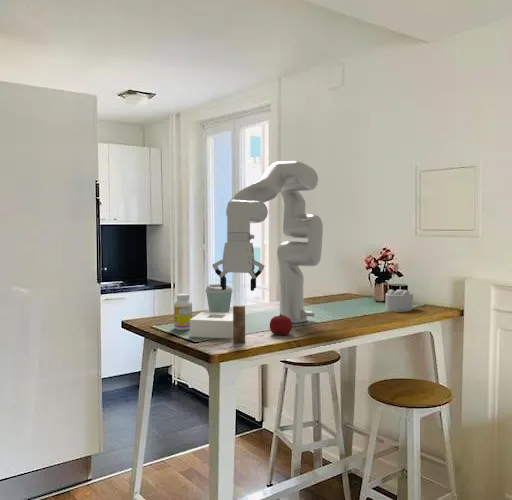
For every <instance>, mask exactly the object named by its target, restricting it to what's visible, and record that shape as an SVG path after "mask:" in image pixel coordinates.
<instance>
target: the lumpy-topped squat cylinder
mask: <svg viewBox="0 0 512 500" xmlns="http://www.w3.org/2000/svg"><path fill="white" fill-rule="evenodd" d="M384 306H385V307H384V308H385V311H387V312H392V313H394V312H395V313H397V312H398V313H400V312H401V313H402V312H405V313H406V312H410V311H413V310H414V293H413V292H410V291H409V290H407V289H396V290H394V289H388V290H387V292H386V293H385V305H384Z"/></svg>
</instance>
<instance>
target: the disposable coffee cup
mask: <svg viewBox="0 0 512 500" xmlns="http://www.w3.org/2000/svg"><path fill="white" fill-rule="evenodd" d="M232 293H233V288H232V287H231V286H230V285H227V284H226V289H225V290H222V287H220V283H218V284H216V283H214V284H213V283H212V284H208V285H207V284H206V288H205V294H206V298H207V305H208V312H222V313H230V311H231V310H230V309H231V302H232Z"/></svg>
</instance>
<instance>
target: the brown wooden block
mask: <svg viewBox="0 0 512 500" xmlns="http://www.w3.org/2000/svg"><path fill="white" fill-rule="evenodd" d="M232 313H233V338H232V342H233V343H234V344H238V345H239V344H245V343H246V306H245V305H241V304H239V305H233V306H232Z"/></svg>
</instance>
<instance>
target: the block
mask: <svg viewBox="0 0 512 500" xmlns="http://www.w3.org/2000/svg"><path fill="white" fill-rule="evenodd" d="M189 338H212V339H213V338H214V339H233V312H229V313H222V312H209V311H201V312H199V313H198V314H196V315H195V316H194V317H193V316H192V319H190V329H189Z"/></svg>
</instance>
